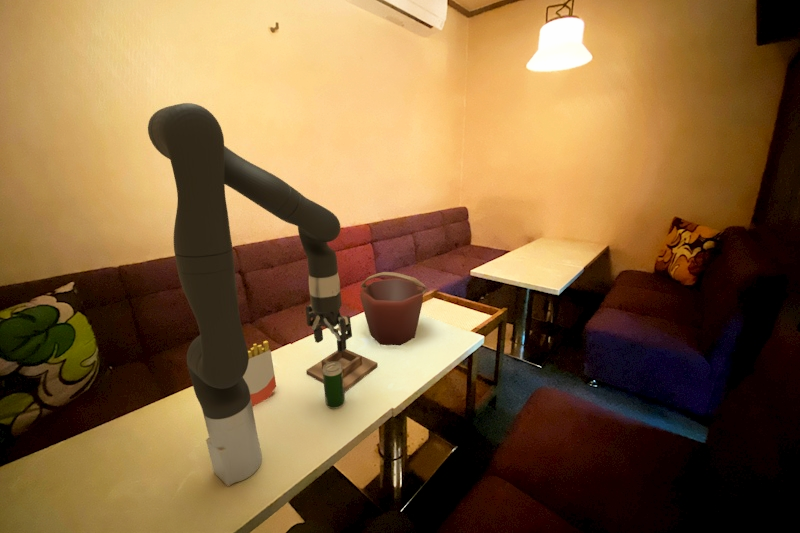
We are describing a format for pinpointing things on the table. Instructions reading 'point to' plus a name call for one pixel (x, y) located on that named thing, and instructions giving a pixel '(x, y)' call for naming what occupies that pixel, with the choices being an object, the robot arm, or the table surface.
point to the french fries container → (260, 373)
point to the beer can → (333, 385)
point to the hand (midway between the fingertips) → (330, 346)
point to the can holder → (345, 367)
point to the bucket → (392, 307)
